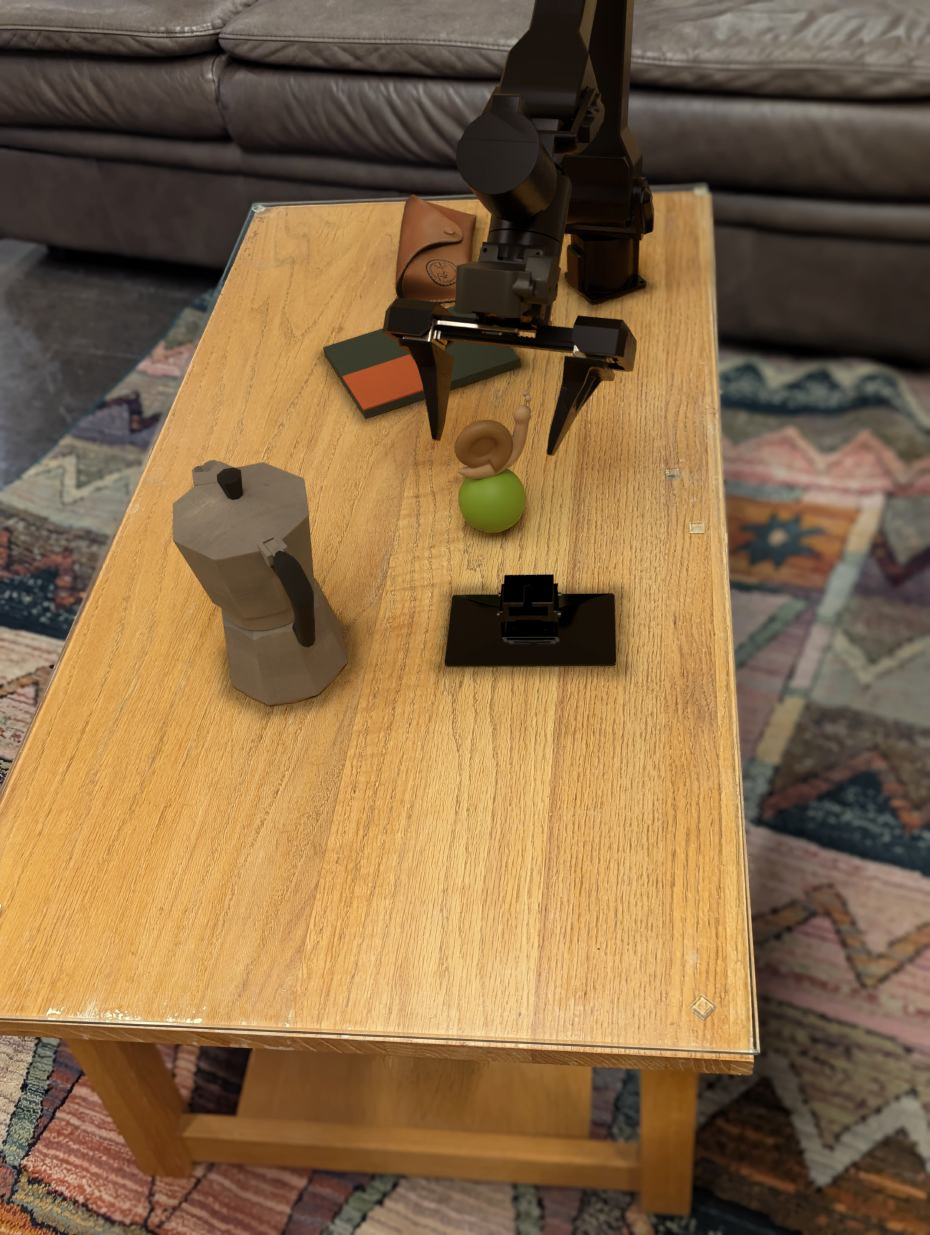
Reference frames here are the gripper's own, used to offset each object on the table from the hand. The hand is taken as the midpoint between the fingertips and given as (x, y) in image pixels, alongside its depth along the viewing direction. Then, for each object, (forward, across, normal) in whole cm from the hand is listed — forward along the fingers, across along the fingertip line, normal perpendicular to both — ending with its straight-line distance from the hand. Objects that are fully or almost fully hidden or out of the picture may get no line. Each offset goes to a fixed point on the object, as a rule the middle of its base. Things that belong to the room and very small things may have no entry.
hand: (492, 447), depth 83 cm
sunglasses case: (-22, -19, +34) cm, 45 cm away
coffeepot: (+19, -10, -7) cm, 22 cm away
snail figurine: (+6, 0, +6) cm, 8 cm away
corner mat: (-9, -14, +20) cm, 27 cm away
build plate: (+13, +6, -2) cm, 15 cm away
